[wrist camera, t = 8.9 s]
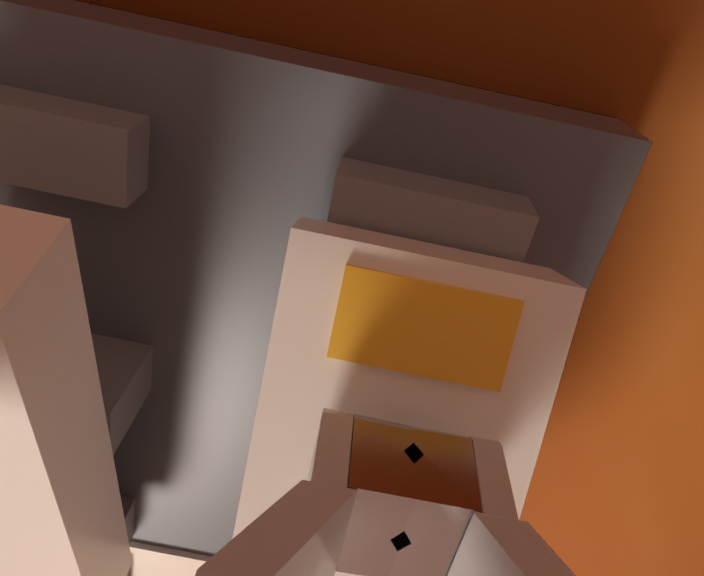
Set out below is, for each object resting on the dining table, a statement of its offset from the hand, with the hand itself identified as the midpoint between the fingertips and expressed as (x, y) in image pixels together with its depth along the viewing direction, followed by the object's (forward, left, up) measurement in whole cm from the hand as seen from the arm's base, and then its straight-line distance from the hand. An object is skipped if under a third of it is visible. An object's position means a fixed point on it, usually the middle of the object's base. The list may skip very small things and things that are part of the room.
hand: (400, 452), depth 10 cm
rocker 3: (+3, 0, -2) cm, 4 cm away
